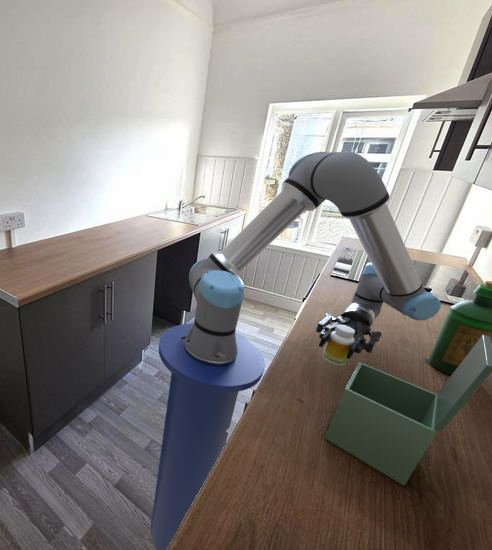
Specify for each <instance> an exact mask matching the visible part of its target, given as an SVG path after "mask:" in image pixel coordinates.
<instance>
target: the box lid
mask: <svg viewBox="0 0 492 550" xmlns="http://www.w3.org/2000/svg"><path fill="white" fill-rule="evenodd" d="M491 374H492V343H491V342H490V337H488V336H486V335H482V337H481V338H480V339H479V340H478V342H477V343H476V344H475V346H474V347H473V348H472V349H471V351H470V352H469V353H468V355H467V356H466V357H465V359H464V360H463V361H462V362H461V364H460V365H459V366H458V368H457V369H456V370H455V371H454V373H453V374H452V375H451V374H450V376H449V378H448V379H447V380H446V382H445V383H444V384H443V385H442V387H441V388H440V389H439V390H438V393H437V394H438V402H437V412H436V421H435V429H436V430H437V431H438V432H439V433H442V432H443V431H444V430H445V428H446V427H447V426H448V425H449V424H450V423H451V422H452V420H454V418H455V417H456V416H457V415H458V413H459V412H460V411H461V410H462V408H463V407H464V406H465V405H466V404H467V403H468V402H469V400H470V399H471V398H472V397H473V396H474V394H475V393H476V392H477V391H478V390H479V388H480V387H481V386H482V385H483V384H484V383H485V381H486V380H487V379H488V378H489V377H490V375H491Z"/></svg>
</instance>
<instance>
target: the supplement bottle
mask: <svg viewBox="0 0 492 550" xmlns="http://www.w3.org/2000/svg"><path fill="white" fill-rule="evenodd" d="M354 333H355V330H354V329H352V328H351V327H348V326H346V325H337V326H336V328H335V331H333V332H331V333H330V335H329V338H328V341H327V342H326V343H325V345H324V348H323V351H322V357H323V359H324V360H325V361H326V362H328V363H330V364H333V365H335V366H345V365H346V363H347V362H348V360H349V359H348V358H346V357H347V355H348V352H349V350H350V348H351V346H352V345H353V343H354V342H355V339H354V338H353V336H354Z"/></svg>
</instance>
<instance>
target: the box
mask: <svg viewBox="0 0 492 550" xmlns="http://www.w3.org/2000/svg"><path fill="white" fill-rule="evenodd" d="M437 402H438V393H435V392H433V391H430V390H428V389H426V388H423V387H421V386H418V385H416V384H414V383H411V382H409V381H406V380H404V379H402V378H399V377H397V376H394V375H392V374H390V373H387V372H385V371H382V370H380V369H378V368H375V367H373V366H370V365H368V364H365V363H363V362H361V361H359V362H358V364H357V366H356V368H355V370H354V371H353V373H352V375H351V377H350V378H349V381H348V382H347V384H346V386H345V388H344V390H343V392H342V395H341V397H340V400H339V402H338V404H337V406H336V408H335V411H334V414H333V417H332V419H331V421H330V423H329V426H328V428H327V431H326V433H325V436H324V439H325V440H327V441H329V442H330V443H332V444H333V445H335V446H337V447H339V448H340V449H342V450H344V451H345V452H347V453H348V454H350V455H352V456H354V457H355V458H357V459H358V460H360V461H361V462H363V463H365V464H367V465H368V466H370V467H372V468H374V469H375V470H377V471H379V472H380V473H382V474H383V475H385V476H387V477H389V478H390V479H392V480H394V481H395V482H397V483H398V484H400V485H402V486H404V487H405V486H406V484H407V482H408V481H409V479H410V478H411V476H412V475H413V472H414V471H415V469H416V467H417V466H418V464H419V463H420V461H421V459H422V458H423V456H424V454H425V452H426V451H427V449H428V448H429V446H430V444H431V442H432V441H433V439H434V438H435V436H436V435H437V431H438V430H436V429H435V421H436V412H437Z"/></svg>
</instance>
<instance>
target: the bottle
mask: <svg viewBox="0 0 492 550" xmlns="http://www.w3.org/2000/svg"><path fill="white" fill-rule="evenodd" d="M472 292H473V294H474V296H473V298H472V300H463V301H459V302H457V303H455V304H453V305H451V306H450V307H449V309H448V312H447V314H446V316H445V318H444V321H443V324H442V326H441V328H440V331H439V333H438V336H437V338H436V341H435V343H434V346H433V348H432V350H431V353H430V354H429V358H428V362H429V364H430V365H431V366H433V367H434V368H435V369H437V370H438V371H441V372H443V373H445V374H448V375H450V376H451V375H452V374H453V373H454V371H455V370H456V369H457V368H458V366H459V365H460V364H461V362H462V361H463V360H464V359H465V357H466V356H467V355H468V353H469V352H470V351H471V349H472V348H473V347H474V346H475V344H476V343H477V342H478V340H479V339H480V338H481V337H482V335H486V336H488V337H490V342H491V344H492V280H491V281H490V280H485V282H484V283H483V284H479V285H477V287H476V288H475V289H474V290H473V291H472Z"/></svg>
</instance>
